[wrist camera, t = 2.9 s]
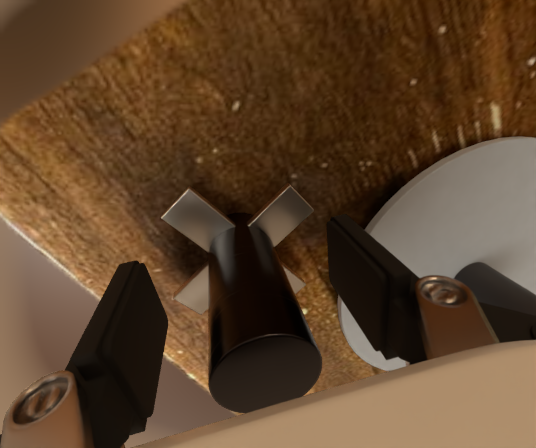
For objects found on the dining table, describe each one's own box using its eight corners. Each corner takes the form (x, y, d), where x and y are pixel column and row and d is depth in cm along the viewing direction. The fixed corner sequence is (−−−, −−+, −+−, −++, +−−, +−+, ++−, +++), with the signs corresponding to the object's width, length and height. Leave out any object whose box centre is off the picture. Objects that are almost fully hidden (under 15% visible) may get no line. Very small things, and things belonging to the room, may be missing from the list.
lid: (358, 133, 12) (508, 173, 6) (624, 135, 15) (901, 163, 9) (318, 375, 18) (369, 506, 13) (506, 342, 21) (619, 437, 15)
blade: (124, 247, 12) (32, 417, 6) (236, 128, 11) (277, 177, 4) (240, 319, 15) (263, 480, 9) (337, 233, 14) (444, 348, 7)
